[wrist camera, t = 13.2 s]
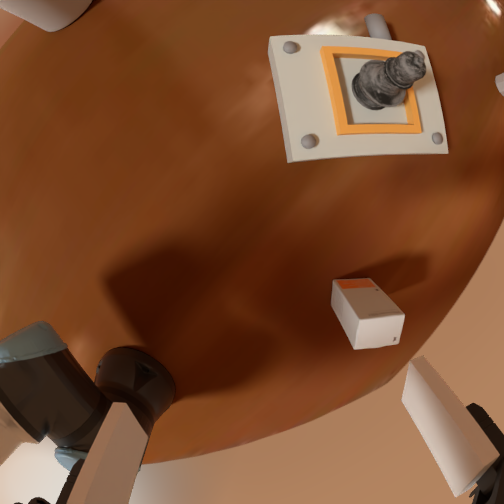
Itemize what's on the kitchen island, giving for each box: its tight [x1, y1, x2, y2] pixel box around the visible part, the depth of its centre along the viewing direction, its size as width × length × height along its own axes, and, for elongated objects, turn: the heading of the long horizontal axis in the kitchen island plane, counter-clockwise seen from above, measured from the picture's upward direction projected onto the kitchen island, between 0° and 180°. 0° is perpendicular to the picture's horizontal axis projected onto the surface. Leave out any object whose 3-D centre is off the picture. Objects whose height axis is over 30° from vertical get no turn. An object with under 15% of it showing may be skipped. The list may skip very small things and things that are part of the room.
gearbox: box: [268, 14, 448, 163], centre depth 28 cm, size 22×21×6 cm
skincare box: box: [331, 278, 405, 350], centre depth 33 cm, size 6×4×12 cm
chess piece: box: [351, 51, 426, 110], centre depth 21 cm, size 6×6×12 cm
